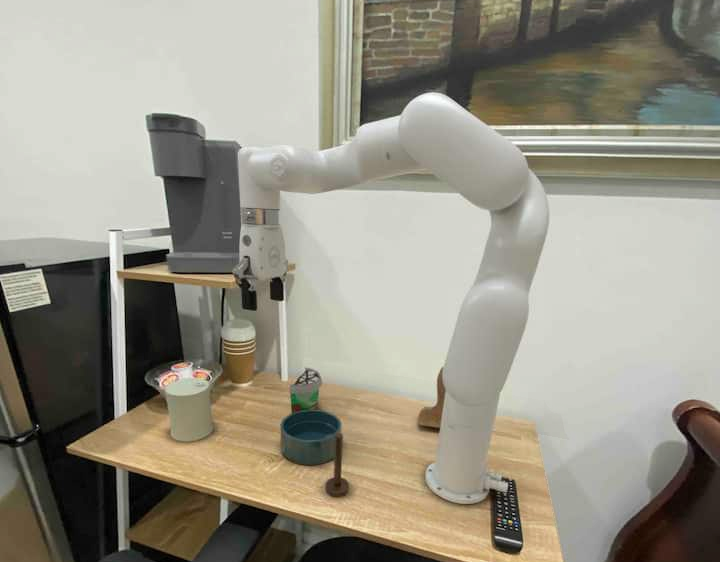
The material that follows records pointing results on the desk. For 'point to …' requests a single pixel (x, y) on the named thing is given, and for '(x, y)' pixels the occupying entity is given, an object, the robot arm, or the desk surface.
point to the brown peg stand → (337, 472)
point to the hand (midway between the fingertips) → (264, 304)
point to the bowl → (309, 436)
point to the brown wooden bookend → (434, 414)
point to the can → (189, 409)
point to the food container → (305, 391)
